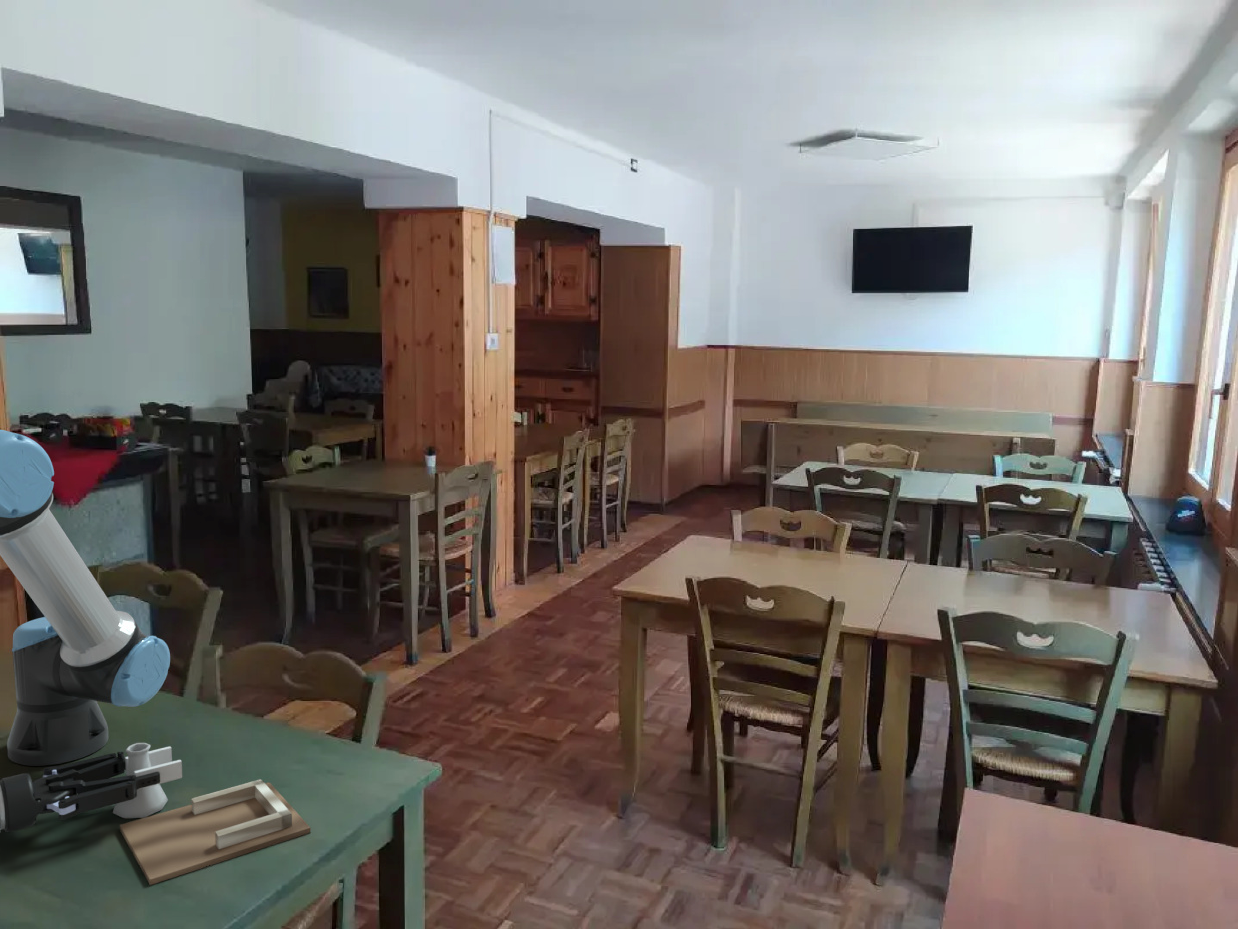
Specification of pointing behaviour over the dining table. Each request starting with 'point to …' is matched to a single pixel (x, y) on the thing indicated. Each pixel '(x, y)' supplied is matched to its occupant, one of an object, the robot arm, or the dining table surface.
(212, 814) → the nook board
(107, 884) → the dining table surface
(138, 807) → the flask
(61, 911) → the dining table surface
